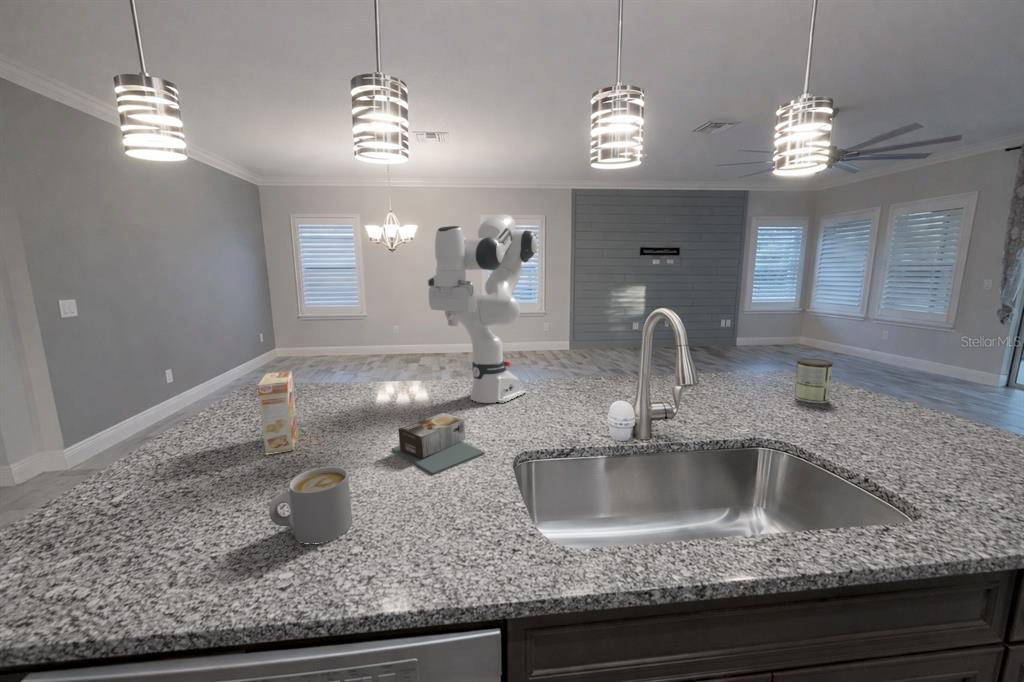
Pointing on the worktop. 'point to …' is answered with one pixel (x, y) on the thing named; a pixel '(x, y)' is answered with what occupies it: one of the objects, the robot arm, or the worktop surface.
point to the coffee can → (813, 380)
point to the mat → (443, 457)
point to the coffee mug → (316, 505)
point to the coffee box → (431, 435)
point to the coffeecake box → (278, 411)
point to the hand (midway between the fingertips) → (453, 325)
